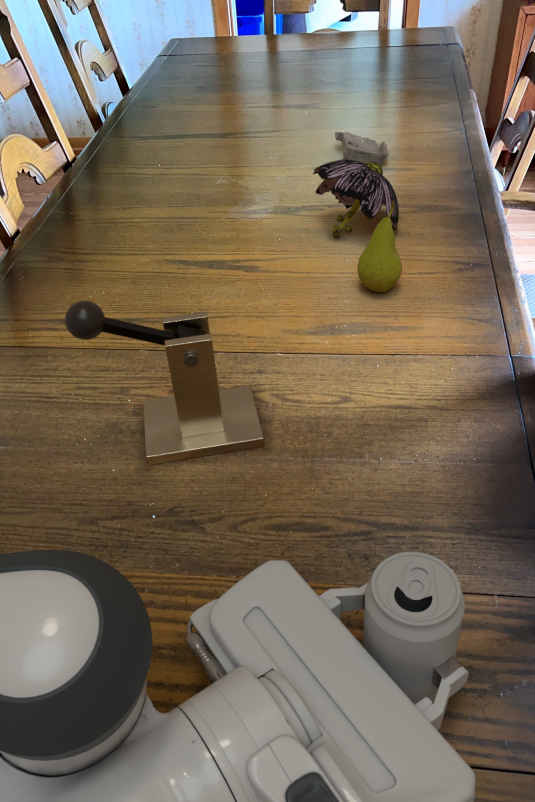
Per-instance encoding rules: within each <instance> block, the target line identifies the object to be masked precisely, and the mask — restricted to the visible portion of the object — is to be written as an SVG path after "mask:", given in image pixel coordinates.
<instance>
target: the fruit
mask: <svg viewBox="0 0 535 802" xmlns="http://www.w3.org/2000/svg"><path fill="white" fill-rule="evenodd" d="M394 205H395V201H392V204H391V210H390V212H389V215H388V216H387V215H386V216H385V217H383V218H382V219H381V220H380V221H379V222H378V224H377V226H376V227H375V229H374V230H373V232H372V235H371V237H370V239H369V240H368V243H367V245H366V247H365V248H364V250H363V251H362V252H361V254H360V256H359V258H358V262H357V267H356V268H357V269H356V270H357V276H358V278H359V281H360V282H361V283H362V284H363V285H364V286H365V287H366V288H367V289H369V290H370V291H372V292H374V293H386V292H388V291H390V290H391V289H392V288H393V287H394V286H395V284H397V283H398V281H399V280H400V278H401V276H402V271H403V263H402V260H401V257H400V255H399V252H398V251H397V247H396V239H395V233H394V232H395V231H393V228H392V224H391V219H390V216H391V213H392V211H393V208H394Z"/></svg>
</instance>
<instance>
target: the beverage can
mask: <svg viewBox="0 0 535 802" xmlns="http://www.w3.org/2000/svg"><path fill="white" fill-rule="evenodd" d="M366 583H367V586H366V590H365V606H364V609H363V629H362V631H363V634H362V646H363V647H364V648H365V649H366V650H367V651H368V652H369V654H370V655H371V656H372V657H373V658H374V659H375V660H376V662H377V663H378V664H379V665H380V666H381V667H382V668H383V669H384V671H385V672H386V673H387V674H388V675H389V676H390V677H391V678H392V680H393V681H394V682H395V683H396V684H397V685H398V686H399V687H400V689H401V690H402V691H403V692H404V693H405V694H406V695H407V697H408V698H409V699H410V700H411V701H412V702H413V703H414V704H417V703H418V702H419V701H421V700H422V699H423V698H425V697H428V698H429V699H430V700H431V701H432V704H433V703H434V701H435V698H436V695H437V692H438V689H437V688H436V687H435V685H434V684H433V683H432V677H433V676H434V675H433V670H434V668H435V667H437V666H439V665H441V664H442V663H444V662H446V661H447V660H448V659H449V658H450V657H451V656H453V657H454V658H455V659H456V657H457V651H458V646H459V641H460V636H461V632H462V626H463V620H464V616H465V610H466V600H465V595H464V593H463V590H462V587H461V583H460V580H459V579H458V577H457V575H456V573H455V572H454V571H453V569H452V568H451V567H450V566H449V565H448V564H447V563H445V562H444V561H443V560H442V559H440V558H438V557H436V556H433V555H431V554H427V553H425V552H420V551H403V552H397V553H394V554H392V555H390V556H388V557H386V558H385V559H383V560H382V561H381V562H380V563H379V564H378V565H377V566H376V568H375V570H374V571H373V574H372V575H371V576H370V578H369V580H368V581H367V582H366Z"/></svg>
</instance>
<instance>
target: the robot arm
mask: <svg viewBox="0 0 535 802" xmlns="http://www.w3.org/2000/svg"><path fill="white" fill-rule="evenodd" d="M367 583H368V582H366V583H365V584H363V585H361V586H360V587H341V588H340V587H339V588H338V587H337V588H328V590H326V591H324V592H323V593H321V594H320V595H319V594H317V593H316V591H315V590H314V589H313V588H312V587H311V586H310V585H309V583H307V581H306V580H305V579H304V577H302V575H301V574H300V573H299V572H298V570H296V569H295V567H294V566H293V565H292V564H291V563H290V562H289V561H288V560H286V559H285V560H284V559H269V560H268V561H267V560H266V562H264V563H262V564H260V565H259V566H257V567H256V568H254V569H253V570H251V572H249V573H247V574H246V575H245V576H244V577H242V578H241V579H240V580H238V581H237V582H236V583H234V585H232V586H231V587H230V588H228V589H227V590H226V591H225V592H224V593H223V594H221V595H220V597H218V598H215V599H213V600H211V601H209V602H207V603H206V604H204V605H203V606H201V607H199V608H197V609H196V610H195V611H193V612H192V613H191V615H190V617H189V618H188V621H187V623H186V637H185V640H184V641H185V645H186V646H187V649H188V650H189V652H190V653H191V654H192V655H193V656H194V657H195V658H196V659H197V661H198V663H199V665H200V667H201V669H202V671H203V672H204V674H205V676H206V677H207V679H208V680H209V682H210V683H211V684H209V685H208V686H207V687H205V688H204V689H202V690H200V691H199V692H198V693H196V694H194V695H192V696H191V697H189V698H188V699H186V700H184V701H183V702H182V703H180V704H178V705H177V706H176V707H174V708H173V709H171V710H169V711H167V712H160V711H158V710H157V709H156V708H155V706H154V705H153V702H152V700H151V699H150V696H149V694H148V692H147V685H148V680H147V679H148V678H147V677H148V674H149V670H150V667H151V662H152V654H153V632H152V631H153V630H152V625H151V620H150V618H149V612H148V610H147V607H146V605H145V602H144V601H143V599H142V597H141V596H140V595H141V594H139V592H138V590H137V589H136V587H135V586H134V585H133V584H132V583H131V581H130V580H129V578H127V577H126V576H125V575H124V574H123V573H122V572H120V571H119V570H118V569H117V568H115V567H114V566H112V565H111V564H110V563H108V562H106V561H104V560H103V559H101V558H98V557H96V556H93V555H91V554H87V553H84V552H80V551H75V550H68V549H67V550H66V549H37V550H26V551H16V552H5V553H4V552H3V553H0V802H475V798H476V782H477V780H476V774H475V772H474V770H473V769H472V767H471V766H470V765H469V764H468V763H467V762H466V760H464V758H462V756H461V755H460V754H459V753H458V752H457V751H456V749H455V748H454V747H453V746H452V744H450V742H448V740H447V739H446V738H445V736H443V735H442V734H441V733H440V731H439V730H440V729H441V727H442V723H443V720H444V717H445V713H446V709H447V706H448V703H449V700H450V699H449V698H451V697H452V696H453V695H454V694H455V693H457V692H458V691H459V690H461V689H462V688H463V687H464V686H465V685H466V683H467V682H468V679H469V675H470V671H468V670H467V668H465V666H464V665H462V663H460V662H459V661H458V660H457V659H456V657H455V658H454V657H453V656H451V657H450V658H449V659H448V660H447V661H446V662H444V663H442V664H441V665H439V666H437V667H435V668H434V670H433V675H434V676H433V677H432V683H433V684H434V685H435V687H436V688H437V689H438V692H437V695H436V698H435V701H434V703H433V704H432V701H431V700H430V699H429V698H428V697H425V698H423V699H422V700H421V701H419V702H418V703H417V704H414V703H413V702H412V701H411V700H410V699H409V698H408V697H407V695H406V694H405V693H404V692H403V691H402V690H401V689H400V687H399V686H398V685H397V684H396V683H395V682H394V681H393V680H392V678H391V677H390V676H389V675H388V674H387V673H386V672H385V671H384V669H383V668H382V667H381V666H380V665H379V664H378V663H377V662H376V660H375V659H374V658H373V657H372V656H371V655H370V654H369V652H368V651H367V650H366V649H365V648H364V647H363V644H362V643H361V642H360V641H359V640H358V639H357V638H356V637H355V636H354V634H353V633H352V631H351V630H349V629H348V628H347V626H345V624H344V623H343V622H342V621H341V618H342V617H341V616H342V614H341V613H347V612H354V611H356V612H357V611H362V610H363V611H364V606H365V590H366V586H367ZM193 629H194V631H193Z"/></svg>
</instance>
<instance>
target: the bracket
mask: <svg viewBox="0 0 535 802" xmlns="http://www.w3.org/2000/svg"><path fill="white" fill-rule="evenodd" d="M161 319H162V320H161V322H162V327H163V330H164V331H168V332H173V333H175V331H176V328H177V326H178V324H179V325H183V326H187V327H191V328H196V329H200V330H204V331H205V333H206V334H205V335H199V336H192V337H185V338H178V339H171V340H165V345H164V348H165V354H166V359H167V365H168V370H169V375H170V381H171V386H172V391H173V396H169V397H163V398H156V399H148V400H144V401H142V404H143V405H142V408H143V411H142V412H143V426H144V427H143V429H144V444H145V458H146V464H147V465H148V466H153V465H158V464H164V463H171V462H176V461H182V460H189V459H196V458H201V457H208V456H215V455H220V454H226V453H233V452H239V451H246V450H251V449H257V448H264V447H265V439H264V434H263V431H262V426H261V423H260V418H259V415H258V410H257V406H256V402H255V398H254V394H253V390H252V385H251V384H248V385H247V384H246V385H240V386H235V387H227V388H222V389H221V388H219V382H218V374H217V366H216V359H215V351H214V344H213V337H212V333H211V331H210V323H209V317H208V311H207V310H205V311H198V312H192V313H191V312H190V313H184V314H178V315H170V316H163V317H161Z"/></svg>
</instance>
